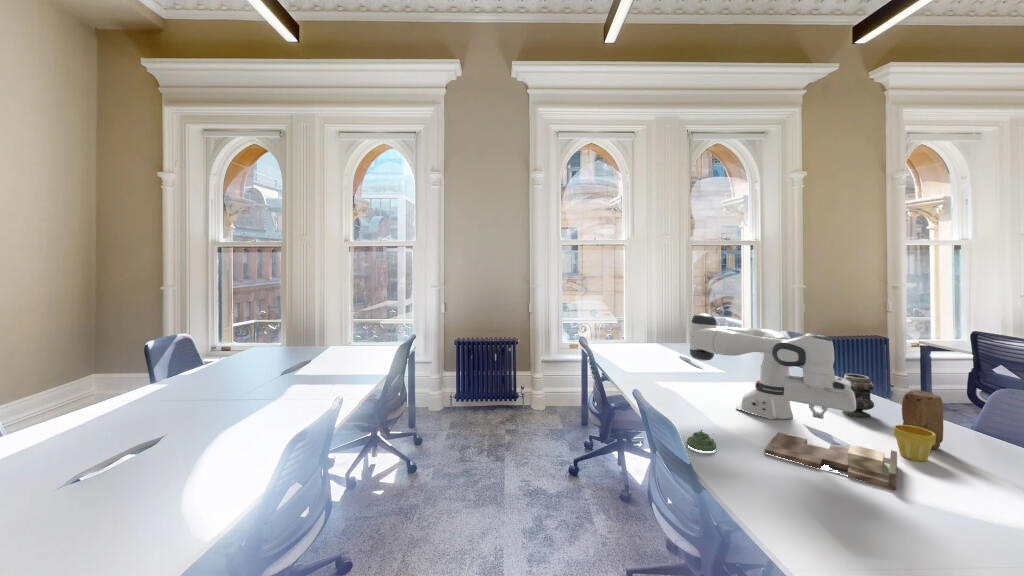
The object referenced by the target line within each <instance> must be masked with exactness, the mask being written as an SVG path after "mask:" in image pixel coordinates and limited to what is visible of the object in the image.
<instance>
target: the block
mask: <svg viewBox="0 0 1024 576" xmlns="http://www.w3.org/2000/svg"><path fill="white" fill-rule="evenodd" d="M943 406H944V405H943V399H942V397H941V396H940V395H937V394H934V393H932V392H929V391H925V390H908V391H906V393H905V394H904V396H902V400H901V416H902V417H901V418H902V421H903V422H902V425H909V426H915V427H919V428H923V429H926V430H929V431H931V432H933V433H935V435H936V441H935V444H934V445H932V448H931V450H936V449H939V448H940V447H941V443H943V440H944V407H943Z"/></svg>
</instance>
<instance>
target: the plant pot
mask: <svg viewBox="0 0 1024 576" xmlns="http://www.w3.org/2000/svg"><path fill="white" fill-rule="evenodd" d="M892 428H893V429H892V431H893V436H894V438H895V439H896V442H897V447H898V451H899V455H900V456H902V457H904V458H906V459H909V460H912V461H915V462H916V461H917V462H927V461H928V459H929V455H930V453H931V451H932V449H931V448H932V445H934V444H935V441H936V435H935V433H933V432H931V431H929V430H926V429H923V428H919V427H915V426H909V425H903V424H894V425H893V427H892Z"/></svg>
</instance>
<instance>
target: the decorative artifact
mask: <svg viewBox="0 0 1024 576" xmlns="http://www.w3.org/2000/svg"><path fill="white" fill-rule="evenodd" d="M687 444H688V445H689V446H690V447H692V448H694V449H697V450H702V451H713V450H715V449H716V450H717V443H716V441H715V440H714V438H711V436H709V434H707V433H705V432H703V430H702V429H701V430H700V431H696V432H693V433H692V435H691V436H689V437H688V438H687V439H686V445H687Z"/></svg>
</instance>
